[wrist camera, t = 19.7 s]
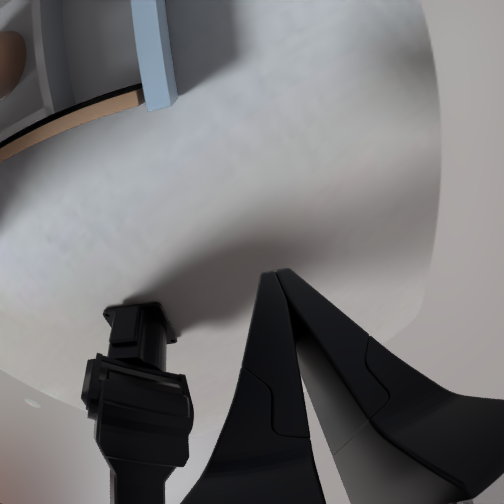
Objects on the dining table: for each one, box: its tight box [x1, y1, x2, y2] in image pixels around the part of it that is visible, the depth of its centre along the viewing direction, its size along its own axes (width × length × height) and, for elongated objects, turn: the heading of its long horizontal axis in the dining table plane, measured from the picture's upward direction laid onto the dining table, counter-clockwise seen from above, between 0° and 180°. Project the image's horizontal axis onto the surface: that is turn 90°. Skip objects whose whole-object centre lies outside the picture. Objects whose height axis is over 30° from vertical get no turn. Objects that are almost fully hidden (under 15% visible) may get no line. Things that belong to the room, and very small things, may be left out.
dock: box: [0, 88, 145, 162], centre depth 8 cm, size 14×18×5 cm
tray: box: [0, 0, 178, 143], centre depth 8 cm, size 15×18×4 cm
